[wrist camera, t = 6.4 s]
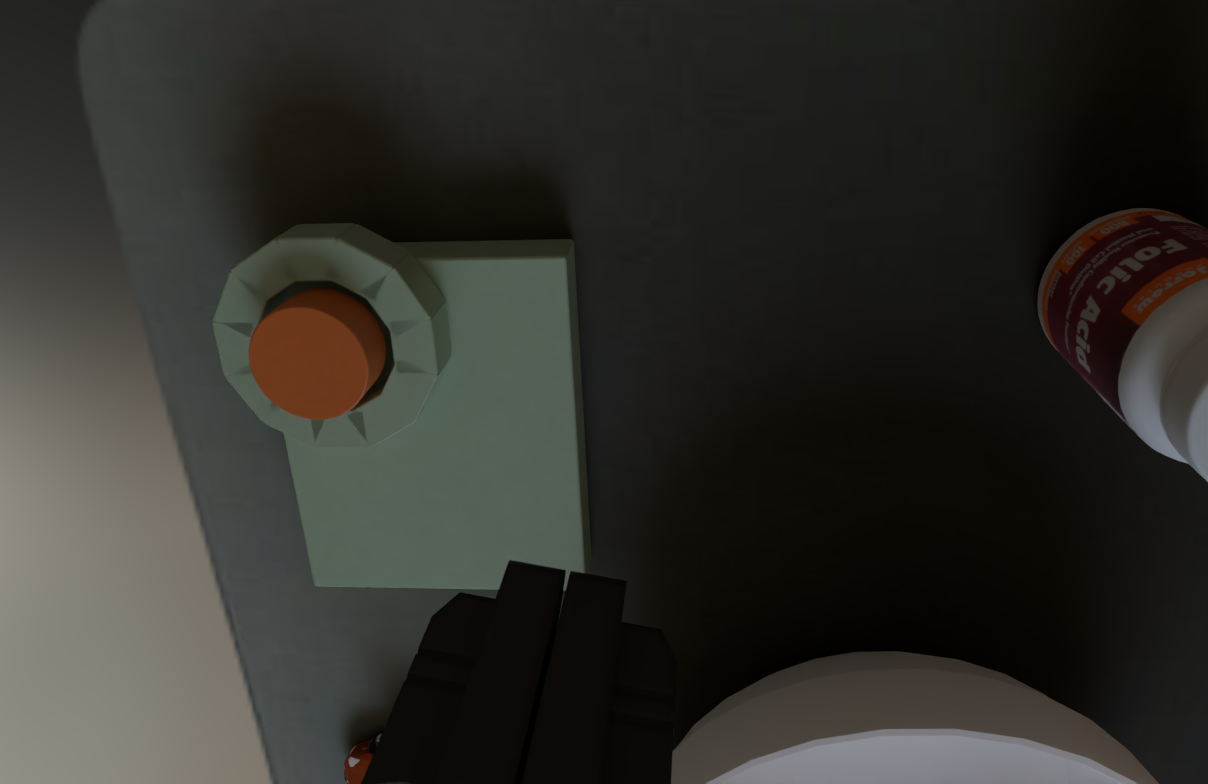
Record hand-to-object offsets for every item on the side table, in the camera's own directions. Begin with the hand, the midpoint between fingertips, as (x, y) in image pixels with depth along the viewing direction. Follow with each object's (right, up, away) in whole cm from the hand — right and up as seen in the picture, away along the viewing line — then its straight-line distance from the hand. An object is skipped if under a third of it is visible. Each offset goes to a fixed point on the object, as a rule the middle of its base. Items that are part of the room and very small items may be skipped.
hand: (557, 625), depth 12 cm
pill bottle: (+15, +6, +14) cm, 22 cm away
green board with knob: (-5, +2, +18) cm, 18 cm away
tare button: (-7, +4, +14) cm, 16 cm away
